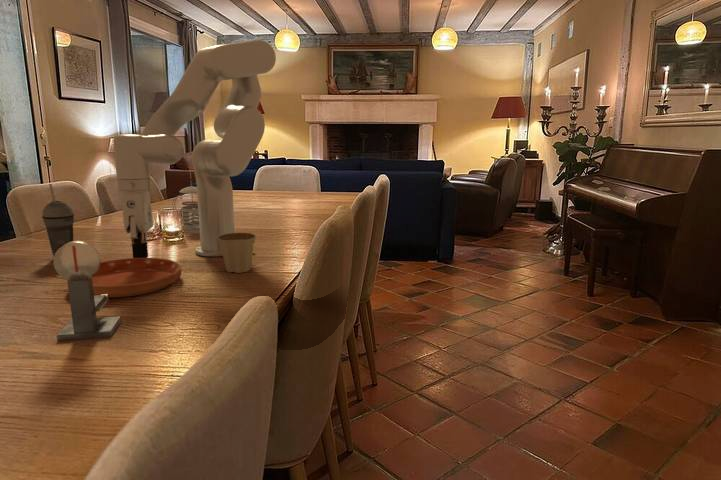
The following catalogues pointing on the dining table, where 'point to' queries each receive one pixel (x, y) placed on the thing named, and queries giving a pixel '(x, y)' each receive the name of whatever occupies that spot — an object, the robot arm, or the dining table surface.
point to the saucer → (134, 276)
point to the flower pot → (237, 251)
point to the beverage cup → (58, 223)
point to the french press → (189, 209)
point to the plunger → (104, 302)
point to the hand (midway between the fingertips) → (140, 257)
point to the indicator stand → (82, 292)
